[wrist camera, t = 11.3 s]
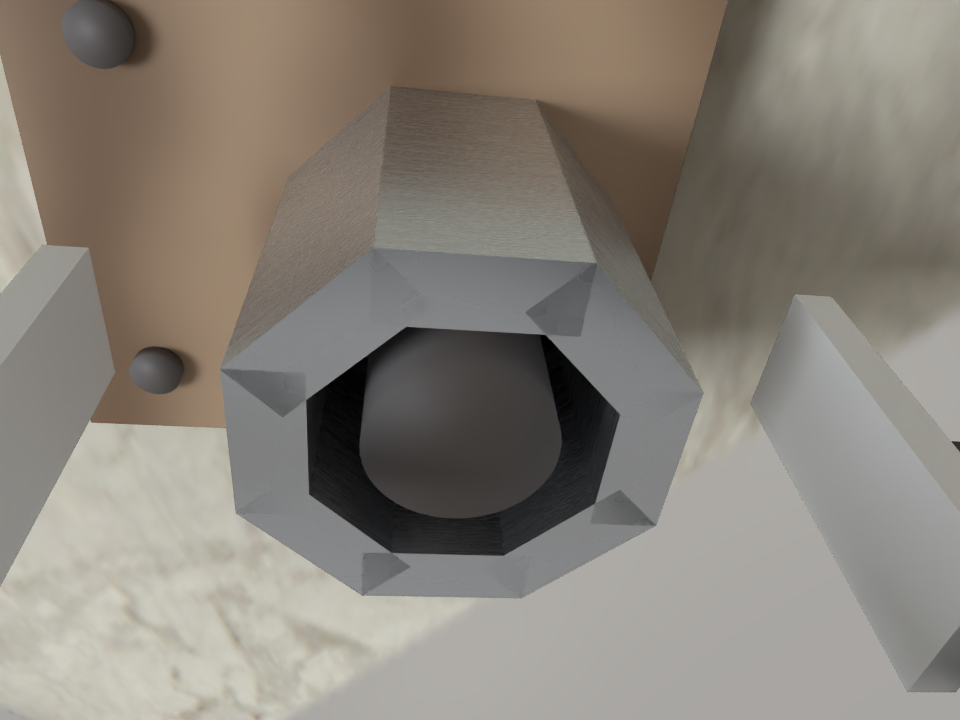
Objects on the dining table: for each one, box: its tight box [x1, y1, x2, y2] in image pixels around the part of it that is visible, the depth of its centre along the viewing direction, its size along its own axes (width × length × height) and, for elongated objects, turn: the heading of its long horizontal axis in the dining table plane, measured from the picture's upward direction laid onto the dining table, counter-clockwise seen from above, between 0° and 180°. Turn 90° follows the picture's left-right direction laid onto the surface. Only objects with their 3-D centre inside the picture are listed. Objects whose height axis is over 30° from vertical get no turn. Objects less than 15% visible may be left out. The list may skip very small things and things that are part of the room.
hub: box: [219, 86, 703, 598], centre depth 15 cm, size 7×7×7 cm
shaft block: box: [0, 0, 728, 518], centre depth 15 cm, size 14×12×9 cm
